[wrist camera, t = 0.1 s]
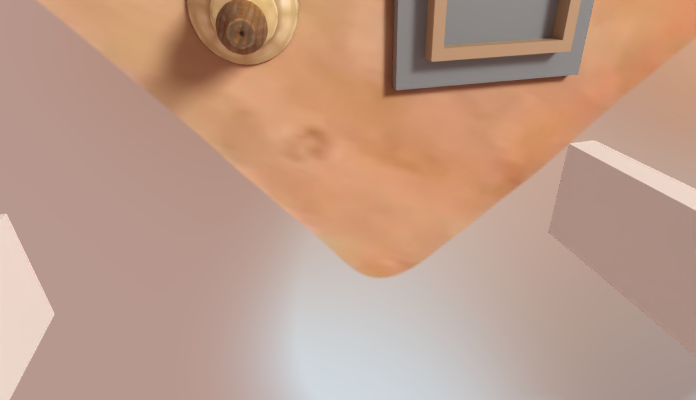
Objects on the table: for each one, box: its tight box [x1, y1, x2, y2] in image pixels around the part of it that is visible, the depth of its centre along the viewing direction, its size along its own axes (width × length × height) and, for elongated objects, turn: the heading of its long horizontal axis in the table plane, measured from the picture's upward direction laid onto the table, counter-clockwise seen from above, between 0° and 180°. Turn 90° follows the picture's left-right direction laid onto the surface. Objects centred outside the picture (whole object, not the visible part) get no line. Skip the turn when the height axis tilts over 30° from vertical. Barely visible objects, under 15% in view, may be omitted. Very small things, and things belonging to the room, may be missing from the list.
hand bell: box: [187, 0, 299, 65], centre depth 26 cm, size 8×8×16 cm
